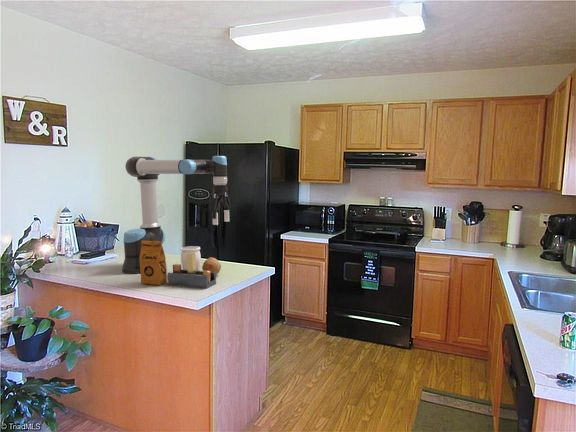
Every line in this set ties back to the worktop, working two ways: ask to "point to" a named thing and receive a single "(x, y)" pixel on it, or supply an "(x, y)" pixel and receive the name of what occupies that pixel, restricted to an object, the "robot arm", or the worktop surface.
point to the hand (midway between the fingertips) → (221, 223)
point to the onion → (212, 265)
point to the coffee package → (152, 263)
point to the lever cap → (191, 263)
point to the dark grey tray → (191, 278)
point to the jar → (186, 251)
